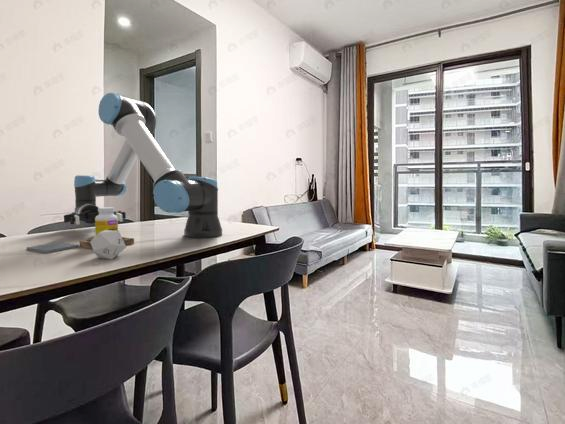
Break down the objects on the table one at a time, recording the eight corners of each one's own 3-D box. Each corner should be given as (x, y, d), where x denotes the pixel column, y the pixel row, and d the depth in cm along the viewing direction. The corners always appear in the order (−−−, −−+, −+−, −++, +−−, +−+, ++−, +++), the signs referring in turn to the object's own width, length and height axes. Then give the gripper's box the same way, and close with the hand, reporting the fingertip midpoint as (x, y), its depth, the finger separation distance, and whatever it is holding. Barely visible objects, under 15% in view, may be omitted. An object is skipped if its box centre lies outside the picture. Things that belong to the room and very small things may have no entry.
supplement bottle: (108, 248, 101) (107, 208, 100) (91, 246, 102) (89, 208, 101) (123, 243, 108) (121, 207, 106) (106, 242, 109) (104, 206, 108)
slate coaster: (79, 247, 102) (79, 244, 102) (45, 253, 93) (45, 250, 93) (60, 244, 106) (60, 241, 106) (26, 249, 97) (26, 247, 97)
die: (92, 265, 83) (115, 237, 83) (77, 246, 87) (99, 219, 87) (117, 268, 91) (137, 242, 91) (102, 251, 94) (122, 225, 94)
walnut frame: (134, 243, 108) (133, 238, 108) (103, 250, 97) (102, 244, 97) (111, 240, 112) (111, 235, 112) (79, 246, 102) (79, 240, 102)
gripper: (123, 220, 136) (137, 226, 120) (53, 225, 120) (58, 233, 104) (122, 203, 135) (137, 207, 119) (51, 205, 119) (57, 210, 103)
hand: (100, 219), depth 111 cm, fingers open, 13 cm apart
